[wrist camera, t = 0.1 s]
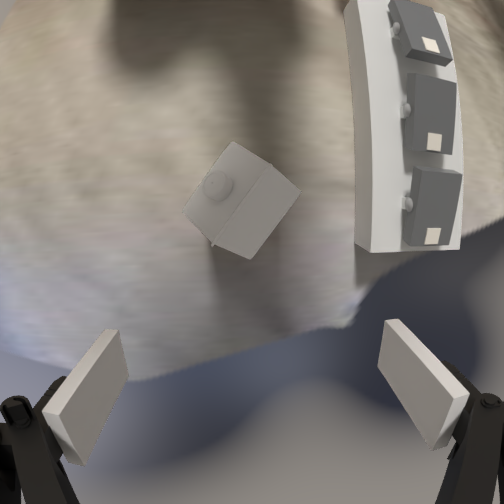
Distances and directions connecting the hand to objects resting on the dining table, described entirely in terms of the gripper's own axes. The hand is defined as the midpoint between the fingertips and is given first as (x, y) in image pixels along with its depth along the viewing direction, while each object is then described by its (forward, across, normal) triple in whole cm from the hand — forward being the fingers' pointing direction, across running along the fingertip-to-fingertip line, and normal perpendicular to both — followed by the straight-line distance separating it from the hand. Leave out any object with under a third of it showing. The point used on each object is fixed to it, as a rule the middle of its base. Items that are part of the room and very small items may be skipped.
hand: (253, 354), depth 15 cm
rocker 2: (+20, +22, +5) cm, 30 cm away
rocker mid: (+20, +22, +16) cm, 33 cm away
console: (+28, +22, +16) cm, 39 cm away
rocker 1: (+20, +22, +27) cm, 40 cm away
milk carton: (+28, 0, +6) cm, 29 cm away
